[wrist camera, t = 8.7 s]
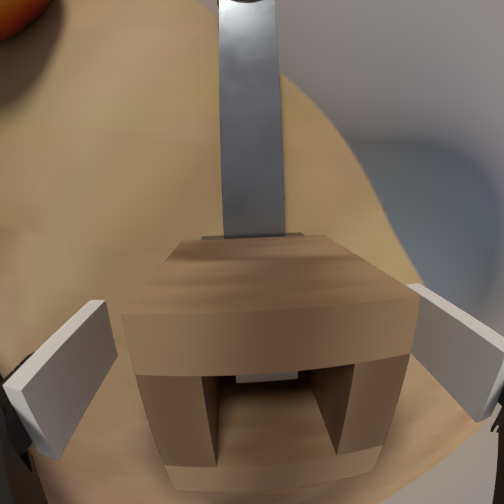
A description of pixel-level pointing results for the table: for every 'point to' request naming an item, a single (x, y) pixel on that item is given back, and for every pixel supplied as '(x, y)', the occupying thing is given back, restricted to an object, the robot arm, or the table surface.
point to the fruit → (18, 15)
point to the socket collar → (269, 361)
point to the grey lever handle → (251, 129)
